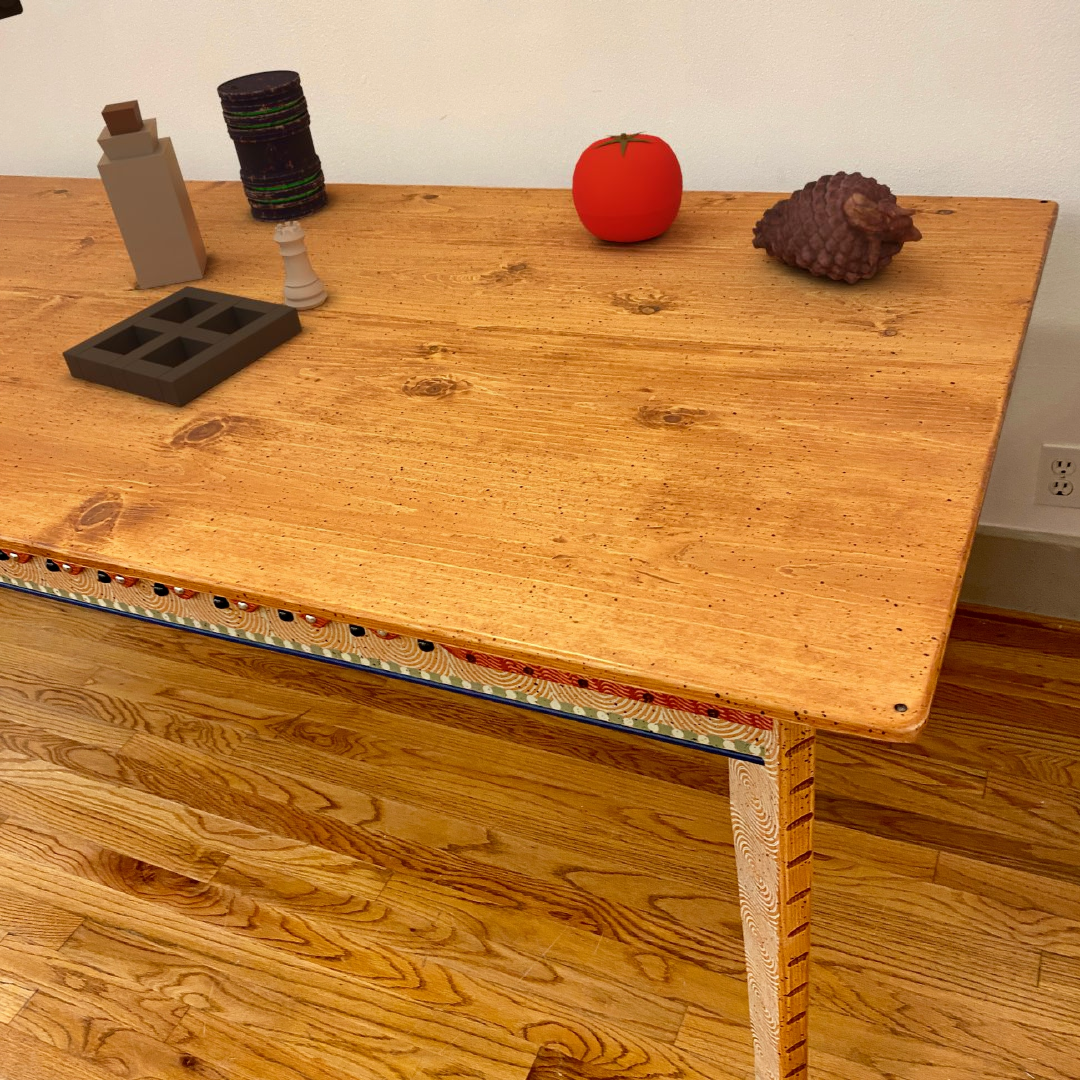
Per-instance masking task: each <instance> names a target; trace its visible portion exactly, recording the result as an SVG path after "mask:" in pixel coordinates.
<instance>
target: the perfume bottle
mask: <svg viewBox="0 0 1080 1080" xmlns="http://www.w3.org/2000/svg"><path fill="white" fill-rule="evenodd" d="M100 114H101V116H102V118H103V121H104V123H105V126H104V127H103V129H102V131H101V132H100V134H99V136H98V137H97V139H96V142H97V143H98V145H99V147H100V148H101V150H102V152H103V154H102V156H101V157H100V159H99V161H98V163H97V165H96V168H97V171H98V173H99V176H100V179H101V181H102V184H103V187H104V190H105V193H106V194H107V198H108V201H109V204H110V207H111V210H112V212H113V215H114V217H115V220H116V223H117V226H118V229H119V232H120V234H121V237H122V240H123V244H124V245H125V248H126V251H127V255H128V257H129V260H130V263H131V265H132V268H133V271H134V274H135V276H136V280H137V282H138V285H139V287H140V290H147V289H151V288H152V289H153V288H157V287H163V286H168V285H173V284H174V285H175V284H180V283H184V282H190V281H195V280H201V279H204V275H205V270H206V266H207V260H208V253H207V251H206V246H205V243H204V240H203V237H202V234H201V230H200V228H199V224H198V221H197V218H196V215H195V211H194V208H193V205H192V202H191V199H190V196H189V193H188V189H187V187H186V183H185V180H184V177H183V174H182V170H181V167H180V165H179V161H178V158H177V154H176V151H175V148H174V144H173V142H172V138H171V136H164V137H159V133H158V122H157V117H152V118H146V119H143V116H142V113H141V109H140V105H139V100H138V99H134V100H128V101H121V102H117V103H116V102H115V103H110V104H105V106H104V107H103V109H102V110H101V112H100Z"/></svg>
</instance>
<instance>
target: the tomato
mask: <svg viewBox="0 0 1080 1080" xmlns="http://www.w3.org/2000/svg"><path fill="white" fill-rule="evenodd" d="M645 132H646V133H647V130H644V131H641V132H635V133H630V134H628V133H626V132H621V133H620V134H617V135H610V136H607V137H604V138H601V139H598V140H596V141H593V142H591V144H589V146H588V147H587V148H585V149H584V150H583V151H582V153H581V154H580V155H579V158H578V159H577V162H576V164H575V166H574V170H573V174H572V182H571V183H572V184H571V185H572V186H571V196H572V200H573V205H574V208H575V211H576V213H577V216H578V218H579V220H580V222H581V223H582V224H583V226H584V227H585V229H586V230H587V231H588V232H589V233H590V234H591V235H593V237H596V238H597V239H598V238H599V239H601V240H603V241H608V242H609V241H610V242H615V243H634V242H641V241H646V240H650V239H652V238H656V237H658V236H661V235H662V234H663V233H665V232H666V231H667V230H668V229H669V228H670V227H672V225H673V223H674V222H675V220H676V219H677V217H678V214H679V211H680V208H681V204H682V198H683V190H684V183H683V178H684V177H683V172H682V168H681V164H680V161H679V159H678V156H677V155H676V153H675V152H674V150H673V148H672V147H671V146H670V144H669V143H668V142H666V141H665V140H664V139H662V138H661V137H659V136H657V135H652V134H645Z"/></svg>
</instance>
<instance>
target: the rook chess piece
mask: <svg viewBox="0 0 1080 1080" xmlns="http://www.w3.org/2000/svg"><path fill="white" fill-rule="evenodd" d="M284 224H285V226H283V224H282V223H278V224H276V226H275V227H274V232H275V233H274V235H273V237H272V240H273V241H274V242H275V243H276V244H277V245H278V246H279V248H280V250H279V252H278V253H279V255H281V256H282V260H283V264H284V274H285V280H283V283H284V285H283V286H282V296H283V297H285V299H284V305H286V306H291V307H296V309H297V311H307V310H312V309H314V308H318V307H319V306H321V305H323V304H325V302H326V300H327V298H328V291H327V290H325V288H326V283H325V281H324V280H322V279H321V278H319V274H317V273H316V272H315V270H314V268H313V266H312V264H311V261H310V258H309V255H308V252H307V251H308V246H307V245H306V244H305V242H304V240H305V237H306V235H307V231H306V230H305V229H304V228H303V227H302V226H301V223H300V222H299V221H296V220H293V221H292V224H291V220H289V221H284Z"/></svg>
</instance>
